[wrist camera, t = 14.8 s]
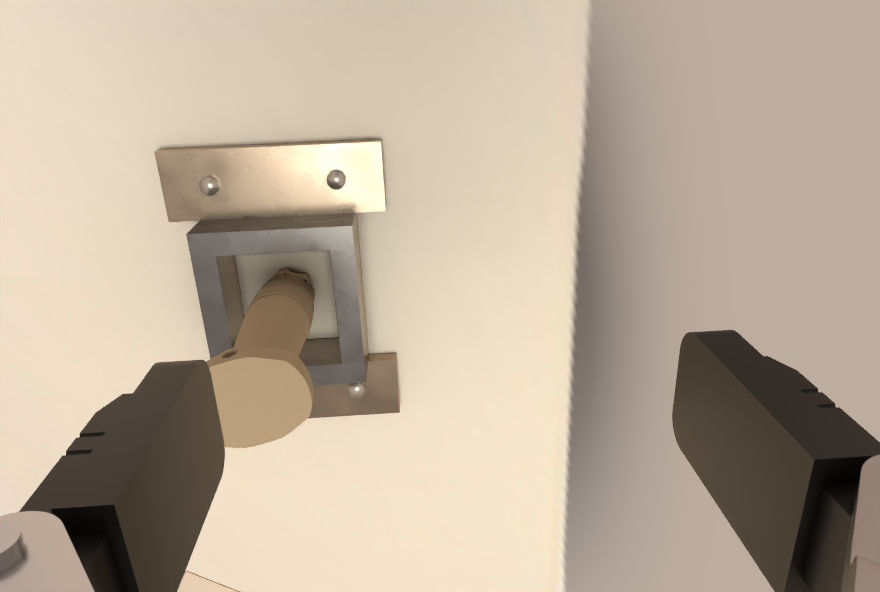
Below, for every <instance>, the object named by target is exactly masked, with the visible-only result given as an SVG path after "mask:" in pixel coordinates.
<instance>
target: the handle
mask: <svg viewBox="0 0 880 592" xmlns="http://www.w3.org/2000/svg"><path fill="white" fill-rule="evenodd" d="M314 297H315V292H314V290H313V289H312V288H311V286H310V284H309V276H308V275H307V274H305V273H294V272H291V271H289V270H288V269H282V270H280V271H278V272H277V273H276V274H275V277H274V278H273V279H271V280H270V281H268V282H267V283H266V284H265V285H264V286H263V287H262V289H261V290H260V291H259V292H258V293H257V295H256V296H255V298H254V299H253V301H252V303H251V304H250V306H249V308H248V310H247V312H246V315H245V317H244V320H243V323H242V326H241V329H240V331H239V334H238V337H237V340H236V342H235V345H234V348H231V349H229V350H226V351H224V352H222V353H221V354H219V355H217V356H215V357H213V358H211V359H210V360H209V361H207V362H206V363H207V364H208V367H209V369H210V373H211V377H212V382H213V387H214V393H215V398H216V403H217V408H218V413H219V418H220V423H221V428H222V433H223V439H224V447H232V448H246V447H252V446H256V445H260V444H264V443H267V442H271V441H274V440H277V439H280V438H282V437H284V436H286V435H287V434H289V433H290V432H292V431H293V430H294V429H295V428H296V427H298V426H299V425H300V424H301V423H302V422H304V421H305V420H306V419H307V418H308V417H309V416H310V413H311V409H312V405H313V399H314V387H313V382H312V379H311V376H310V373H309V371H308V370H307V368H306V366H305V365H304V363H303V362H302V361H301V359H299V358H298V356H299V354H300V352H301V349H302V347H303V345H304V343H305V340H306V338H307V336H308V334H309V330H310V327H311V323H312V319H313V311H314Z"/></svg>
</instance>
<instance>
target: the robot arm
mask: <svg viewBox="0 0 880 592" xmlns="http://www.w3.org/2000/svg"><path fill="white" fill-rule="evenodd" d="M672 417H673V418H672V419H673V429H674V434H675V437H676V440H677V443H678V445H679V447H680V449H681V451H682V452H683V454H684V455H685V457H686V458H687V460H688V461H689V463H690V464H691V466H692V467H693V469H694V470H695V472H696V473H697V475H698V476H699V478H700V479H701V481H702V482H703V484H704V485H705V487H706V488H707V490H708V492H709V493H710V494H711V496H712V497H713V499H714V501H715V502H716V503H717V505H718V507H719V508H720V510H721V511H722V513H723V514H724V516H725V517H726V519H727V520H728V522H729V523H730V525H731V526H732V528H733V529H734V530H735V532H736V534H737V535H738V536H739V538H740V540H741V541H742V543H743V544H744V546H745V547H746V549H747V550H748V552H749V553H750V555H751V556H752V558H753V559H754V561H755V562H756V564H757V565H758V567H759V569H760V570H761V571H762V573H763V575H764V576H765V577H766V579H767V581H768V582H769V583H770V585H771V587H772V588H773V590H774V591H775V592H880V442H878V441H877V440H876V439H875V438H874V437H873V436H872V435H870V434H869V433H868V432H867V431H866V430H864V428H862V427H861V426H860V425H859V424H858V423H857V422H856V421H854V420H853V419H852V418H851V417H850V416H849V415H847V414H846V413H845V412H844V411H843V410H842V409H840V408H836V407H835V403H834V402H833V401H831V400H830V399H829V398H828V397H827V396H826V395H825V394H823V393H822V392H821V393H819V392H818V388H817V387H815V386H814V385H813V384H812V383H811V382H809V381H808V380H807V379H806V378H805V377H804V376H803V375H802V374H800V373H799V372H798V371H797V370H795V369H793V368H791V367H788V366H786V365H784V364H782V363H780V362H778V361H776V360H774V359H772V358H770V357H768V356H765V357H764V356H763V355H761V354H760V353H759V352H758V351H757V350H756V349H755V348H754V347H753V346H752V345H750V344H749V343H748V342H747V341H746V340H745V339H744V338H743V337H742V336H741V335H740V334H738V333H737V332H736V331H734V330H723V331H707V332H706V331H705V332H689V333H687V334H686V335H685V336H684V337H683V340H682V343H681V347H680V355H679V363H678V372H677V379H676V387H675V396H674V404H673V414H672ZM224 458H225V449H224V439H223V433H222V428H221V423H220V418H219V413H218V408H217V403H216V398H215V393H214V387H213V382H212V377H211V373H210V369H209V367H208V364H207V363H206V362H205V361H204V360H192V361H175V362H158V363H155V364H154V365H153V366H152V368H151V369H150V371H149V372H148V373H147V375H146V376H145V378H144V379H143V380H142V382H141V383H140V385H139V386H138V387H137V389H136V390H135V392H134V393H133V394H122V395H121V396H119V397H118V398H116V399H115V400H114V401H112V402H111V403H109V404H108V405H106V406H105V407H103V408H102V409H101V410H99V411H98V412H96V413H95V414H94V416H93V417H92V418H91V420H90V421H89V422H88V424H87V425H86V426H85V427H84V429H83V430H82V431H81V433H80V438H76V439H75V440H74V442H73V443H72V444H71V445H70V447H69V448H68V449H67V451H66V456H62V457H61V458H60V460H59V461H58V462H57V464H56V465H55V466H54V467H53V469H52V470H51V471H50V473H49V474H48V475H47V476H46V478H45V479H44V480H43V482H42V483H41V484H40V485H39V487H38V488H37V489H36V491H35V492H34V493H33V495H32V496H31V497H30V498H29V500H28V501H27V502H26V504H25V505H24V506H23V507H22V509H21V510H20V511H19V512H17V513H12V514H8V515H4V516H1V517H0V592H177V590H178V588H179V585H180V583H181V580H182V578H183V575H184V572H185V570H186V567H187V565H188V562H189V560H190V557H191V554H192V552H193V549H194V547H195V544H196V542H197V539H198V536H199V534H200V531H201V529H202V526H203V523H204V521H205V518H206V516H207V513H208V511H209V508H210V505H211V503H212V500H213V498H214V495H215V493H216V490H217V487H218V485H219V482H220V480H221V477H222V473H223V468H224Z"/></svg>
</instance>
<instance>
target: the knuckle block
mask: <svg viewBox="0 0 880 592" xmlns="http://www.w3.org/2000/svg"><path fill="white" fill-rule="evenodd" d="M155 156H156V161H157V166H158V171H159V176H160V181H161V186H162V190H163V195H164V200H165V205H166V210H167V215H168V220H169V222H178V221H198V220H200V221H199V222H198V223H197V224H196V225H195V226H194V227H193V228H192V229H191V230H190V231H189V232H188V233H187V234H186V235H187V240H188V245H189V250H190V255H191V260H192V266H193V271H194V276H195V281H196V286H197V291H198V296H199V302H200V307H201V312H202V317H203V322H204V327H205V332H206V338H207V343H208V348H209V353H210V358H213V357H215V356H217V355H219V354H221V353H222V352H224V351H226V350H229V349H231V348H234V345H235V342H236V340H237V337H238V334H239V331H240V329H241V326H242V323H243V320H244V312H243V306H242V300H241V294H240V288H239V282H238V276H237V270H236V264H235V258H234V255H250V254H270V253H289V252H308V251H327V250H330V256H331V265H332V275H333V284H334V294H335V303H336V313H337V322H338V331H339V338H326V339H309V340H305V343H304V345H303V347H302V349H301V352H300V354H299V356H298V358H299V359H301V361H302V362H303V363H304V365H305V366H306V368H307V370H308V371H309V373H310V376H311V379H312V382H313V387H314V399H313V405H312V409H311V413H310V416H309V417H308V418H319V417H335V416H351V415H367V414H383V413H399V412H400V404H399V390H398V375H397V361H396V353H385V354H369V352H368V341H367V329H366V318H365V307H364V295H363V284H362V272H361V261H360V249H359V238H358V227H357V215H356V213H359V212H379V211H386V201H385V187H384V172H383V158H382V143H381V139H371V140H348V141H326V142H304V143H282V144H260V145H238V146H216V147H194V148H172V149H159V150H157V151H155Z"/></svg>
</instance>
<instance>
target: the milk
mask: <svg viewBox="0 0 880 592" xmlns="http://www.w3.org/2000/svg"><path fill="white" fill-rule="evenodd" d="M177 592H237V591H235V590H232V589H230V588H227V587H225V586H222V585H220V584H217V583H214V582H212V581H209V580H207V579H204V578H202V577H199V576H197V575H194V574H192V573H189V572H186V573H185V574H184V576H183V578H182V580H181V583H180V585H179V588H178V590H177Z"/></svg>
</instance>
